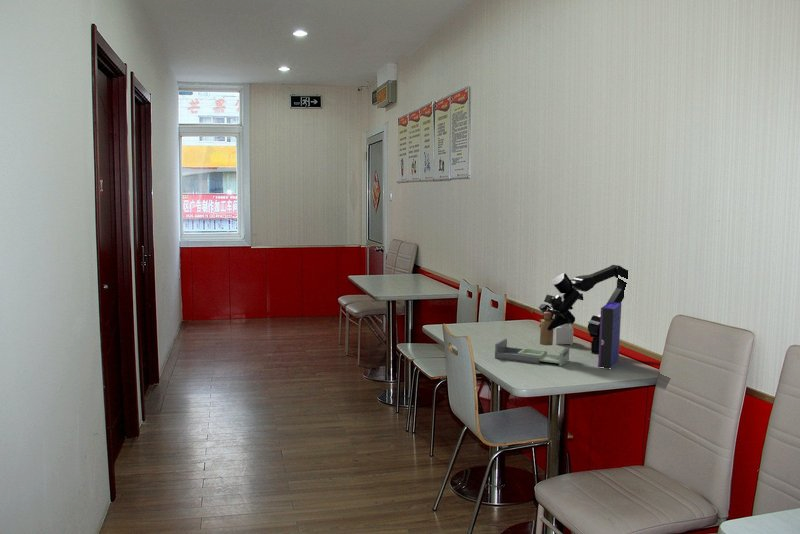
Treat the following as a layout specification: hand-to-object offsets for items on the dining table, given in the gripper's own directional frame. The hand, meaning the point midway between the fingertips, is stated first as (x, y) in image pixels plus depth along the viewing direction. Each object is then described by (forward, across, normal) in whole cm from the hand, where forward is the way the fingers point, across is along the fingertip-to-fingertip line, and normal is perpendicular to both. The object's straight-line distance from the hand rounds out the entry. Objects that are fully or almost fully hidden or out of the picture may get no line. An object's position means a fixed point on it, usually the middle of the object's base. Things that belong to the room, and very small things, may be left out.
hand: (544, 328), depth 282 cm
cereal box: (-5, +17, +23) cm, 29 cm away
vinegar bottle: (+4, 0, +6) cm, 7 cm away
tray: (+10, +4, +7) cm, 13 cm away
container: (-9, -22, +27) cm, 36 cm away
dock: (+15, -4, +3) cm, 15 cm away
